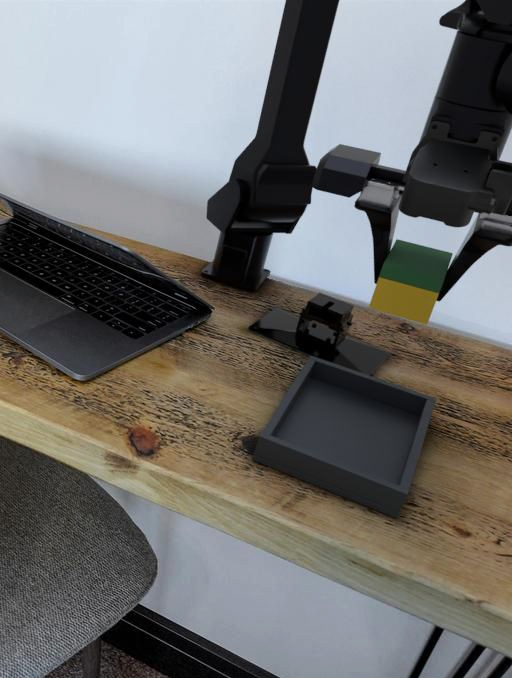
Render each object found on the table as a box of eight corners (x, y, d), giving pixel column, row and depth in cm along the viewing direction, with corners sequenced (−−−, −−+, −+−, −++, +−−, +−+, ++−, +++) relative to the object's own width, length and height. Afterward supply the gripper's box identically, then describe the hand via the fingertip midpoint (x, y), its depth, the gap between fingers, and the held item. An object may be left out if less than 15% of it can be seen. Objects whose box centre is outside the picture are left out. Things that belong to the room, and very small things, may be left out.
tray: (302, 376, 77) (310, 355, 76) (427, 420, 72) (436, 398, 71) (251, 460, 65) (259, 435, 64) (396, 519, 60) (408, 494, 59)
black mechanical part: (246, 331, 84) (257, 290, 82) (276, 310, 89) (287, 271, 87) (366, 380, 78) (381, 337, 75) (391, 354, 83) (406, 313, 80)
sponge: (382, 280, 73) (396, 238, 71) (436, 295, 71) (453, 252, 69) (368, 308, 67) (383, 263, 65) (426, 325, 65) (444, 279, 63)
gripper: (325, 93, 59) (270, 289, 66) (630, 152, 51) (529, 367, 58) (354, 74, 67) (303, 249, 75) (620, 121, 59) (532, 312, 67)
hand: (406, 291), depth 69 cm, fingers closed on sponge, 4 cm apart
